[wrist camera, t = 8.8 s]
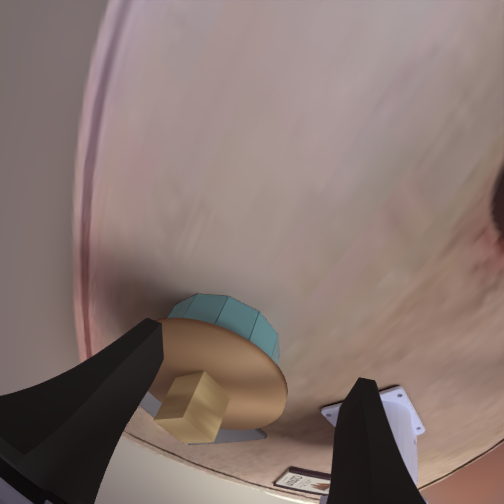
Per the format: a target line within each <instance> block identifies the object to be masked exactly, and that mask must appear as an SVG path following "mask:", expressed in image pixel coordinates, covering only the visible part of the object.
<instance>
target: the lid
mask: <svg viewBox="0 0 504 504" xmlns="http://www.w3.org/2000/svg"><path fill="white" fill-rule="evenodd" d="M156 321H157V322H160V323H162V335H163V350H164V360H163V362H162V364H161V367H160V369H159V371H158V373H157V375H156V377H155V380H154V382H153V383H152V385H151V387H150V388H149V390H148V392H149V393H150V394H151V395H152V396H154V397H155V398H156V399H157V400H158V401H160V402H161V403H162V405H161V407H160V408H159V410H158V412H157V414H156V416H155V418H154V421H155V422H156V423H158V424H159V425H160V426H161V427H163V428H164V429H165V430H166V431H168V432H169V433H170V434H172V435H173V436H174V437H175V438H177V439H178V440H179V441H181V442H182V443H210V442H214V441H215V438H216V435H217V433H218V430H219V428H220V429H227V430H251V429H257V428H260V427H264V426H266V425H268V424H271V423H272V422H274V421H275V420H276V419H277V418H278V417H280V415H281V414H282V412H283V411H284V408H285V404H286V400H287V394H288V388H287V383H286V380H285V377H284V375H283V373H282V371H281V370H280V368H279V367H278V366H277V364H276V363H275V362H274V361H273V360H272V359H271V358H270V357H269V355H268V354H266V353H265V352H264V351H263V350H262V349H260V348H259V347H258V346H256V345H255V344H254V343H252V342H251V341H249V340H248V339H246V338H244V337H242V336H240V335H239V334H237V333H235V332H233V331H230V330H228V329H226V328H223V327H221V326H218V325H215V324H212V323H209V322H205V321H201V320H196V319H190V318H179V317H177V318H164V319H159V320H156Z"/></svg>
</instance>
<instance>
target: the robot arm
mask: <svg viewBox="0 0 504 504" xmlns="http://www.w3.org/2000/svg"><path fill="white" fill-rule="evenodd" d="M163 360H164V350H163V335H162V323H160V322H157V321H154V320H151V319H149V318H146V319H144V320H143V321H142V322H140V323H139V324H138V325H136V326H135V327H134V328H132V329H131V330H130V331H128V332H127V333H126V334H124V335H123V336H121V337H120V338H119V339H117V340H116V341H114V342H113V343H112V344H110V345H109V346H107V347H106V348H104V349H103V350H101V351H100V352H98V353H97V354H95V355H94V356H92V357H91V358H89V359H87V360H86V361H84V362H82V363H81V364H79V365H77V366H76V367H74V368H72V369H70V370H69V371H66V372H64V373H62V374H60V375H58V376H56V377H54V378H52V379H50V380H47V381H45V382H43V383H40V384H38V385H35V386H32V387H30V388H26V389H23V390H20V391H17V392H14V393H10V394H7V395H2V396H0V504H94V502H95V499H96V496H97V493H98V490H99V487H100V484H101V482H102V479H103V476H104V474H105V471H106V468H107V466H108V464H109V461H110V459H111V456H112V454H113V452H114V449H115V447H116V445H117V443H118V441H119V439H120V437H121V434H122V432H123V431H124V429H125V427H126V425H127V423H128V422H129V420H130V419H131V417H132V415H133V414H134V412H135V411H136V409H137V407H138V406H139V404H140V403H141V401H142V399H143V398H144V396H145V395H146V393H147V391H148V390H149V388H150V387H151V385H152V383H153V382H154V380H155V377H156V375H157V373H158V371H159V369H160V367H161V364H162V362H163ZM321 413H322V414H323V416H324V417H325V418H326V419H327V420H328V421H329V422H330V423H331V424H332V425H333V426H334V427H335V434H334V447H333V459H332V470H331V479H330V486H329V492H328V496H321V498H320V503H319V504H428V500H427V499H426V498H425V497H423V496H422V494H420V492H419V491H418V489H417V487H416V486H417V481H418V461H417V437H416V436H417V435H420V434H423V433H424V432H425V428H424V426H423V424H422V422H421V420H420V418H419V416H418V414H417V413H416V411H415V409H414V407H413V405H412V403H411V401H410V400H409V398H408V396H407V394H406V392H405V390H404V389H403V387H401V386H397V387H393V388H390V389H387V390H384V391H381V392H379V390H378V387H377V384H376V382H375V380H370V379H365V378H360V377H359V378H358V380H357V381H356V383H355V385H354V386H353V388H352V389H351V391H350V392H349V394H348V395H347V397H346V398H345V400H344V401H343V403H339V404H335V405H331V406H327V407H324V408H322V410H321Z"/></svg>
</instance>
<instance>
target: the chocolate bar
mask: <svg viewBox="0 0 504 504" xmlns="http://www.w3.org/2000/svg"><path fill="white" fill-rule="evenodd" d="M330 479H331V474H328V473H322V472H317V471H312V470H307V469H302V468H298V467H293V466H292V467H291V468H290V469H289V470H288V471H287V472H286V473H285V474H283V475H282V476H281V477H280V478H279V479H278V480H277V481H276V482H275V483H274V485H273V486H276V487H281V488H285V489H290V490H295V491H299V492H305V493H310V494H316V495H322V496H328V492H329V486H330Z"/></svg>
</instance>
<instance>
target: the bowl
mask: <svg viewBox="0 0 504 504" xmlns="http://www.w3.org/2000/svg"><path fill="white" fill-rule="evenodd" d="M177 317H179V318H190V319H196V320H201V321H205V322H209V323H212V324H215V325H218V326H221V327H223V328H226V329H228V330H230V331H233V332H235V333H237V334H239V335H240V336H242V337H244V338H246V339H248V340H249V341H251V342H252V343H254V344H255V345H256V346H258V347H259V348H260V349H262V350H263V351H264V352H265V353H266V354H268V355H269V357H270V358H271V359H272V360H273V361H274V362H275V363H276V364H278V361H279V357H280V355H279V342H278V334H277V333H276V331H275V330H274V329H273V328H272V327H271V325H270V324H269V323H268V322H267V320H266V319H265V318H264V317H263V316H262V314H261V313H260V312H259V311H257V310H255V309H253V308H251V307H249V306H247V305H245V304H243V303H241V302H239V301H237V300H235V299H233V298H231V297H228V296H220V295H206V294H196V295H194V296H192V297H190V298H188V299H186V300H184V301H182V302H180V303H178V304H176V305H175V307H174V308H173V310H172V311H171V312H170V314H169V315H168V317H167V318H177Z"/></svg>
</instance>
